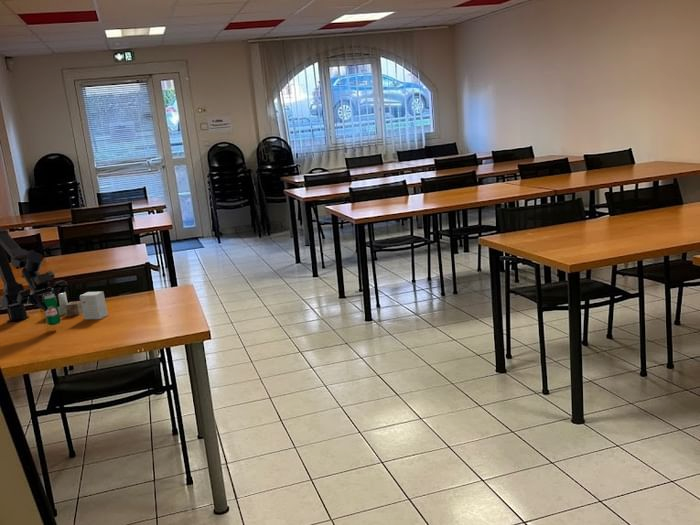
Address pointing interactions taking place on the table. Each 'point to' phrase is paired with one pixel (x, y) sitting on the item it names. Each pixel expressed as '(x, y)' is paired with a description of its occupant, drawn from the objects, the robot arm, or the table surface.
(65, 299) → the sage mug
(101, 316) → the small box
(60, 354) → the table surface
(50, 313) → the soda can
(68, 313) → the walnut block
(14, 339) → the table surface
